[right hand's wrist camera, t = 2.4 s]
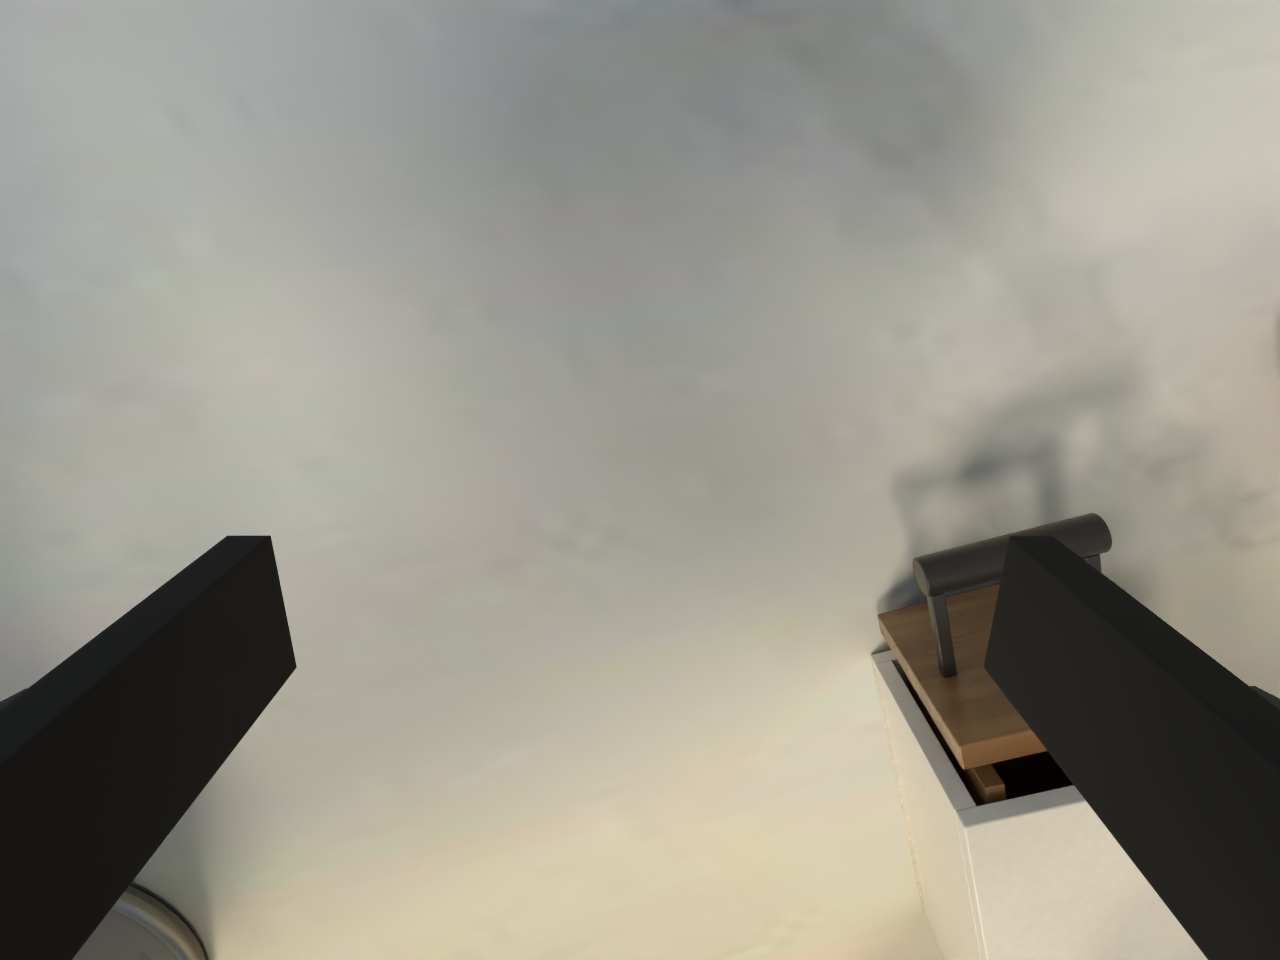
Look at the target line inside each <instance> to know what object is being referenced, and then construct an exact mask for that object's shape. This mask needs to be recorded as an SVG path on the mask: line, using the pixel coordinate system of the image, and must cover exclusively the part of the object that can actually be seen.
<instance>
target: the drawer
mask: <svg viewBox="0 0 1280 960" xmlns="http://www.w3.org/2000/svg"><path fill="white" fill-rule="evenodd" d="M1009 536H1054V537H1055V538H1056V539H1057V540H1059V541H1060V542H1061V543H1063V544H1064V545H1065V546H1067V547H1068V548H1069V549H1071V550H1072V551H1073V552H1074V553H1076V554H1077V555H1078V556H1080V557H1081V558H1082V559H1084V560H1085V561H1086V562H1087V563H1089V564H1090V565H1091V566H1093V567H1094V568H1095V569H1097V570H1098V571H1099V572H1101V563H1100V555H1099V554H1101V553H1105V552H1108V551H1109V550H1110V548H1111V545H1112V539H1111V534H1110V531H1109V529H1108V527H1107V525H1106V523H1105V522H1104V520H1103V519H1102V518H1101V517H1100V516H1099V515H1097V514H1094V513H1090V514H1086V515H1082V516H1078V517H1074V518H1070V519H1066V520H1062V521H1058V522H1054V523H1050V524H1047V525H1043V526H1039V527H1035V528H1031V529H1027V530H1023V531H1019V532H1015V533H1011V534H1007V535H1003V536H999V537H995V538H992V539H988V540H984V541H980V542H976V543H972V544H968V545H964V546H960V547H956V548H952V549H948V550H944V551H941V552H937V553H933V554H929V555H925V556H921V557H917V558H915V559H914V560H913V570H914V574H915V578H916V581H917V583H918V586H919V588H920V589H921V591H922V593H923V594H924V595H925V596H927V602H926V603H922V604H918V605H914V606H910V607H906V608H902V609H897V610H893V611H889V612H885V613H881V614H878V620H879V625H880V630H881V634H882V635H883V637H884V639H885V640H886V642H887V644H888V645H889V647H890V649H891V650H892V652H893V654H894V655H895V657H896V659H897V660H898V662H899V664H900V665H901V667H902V669H903V670H904V672H905V674H906V675H907V681H908V686H909V691H910V693H911V695H912V696H913V698H914V700H915V701H916V703H917V705H918V707H919V708H920V710H921V712H922V713H923V715H924V717H925V719H926V720H927V722H928V724H929V725H930V727H931V729H932V730H933V732H934V734H935V736H936V737H937V739H938V741H939V742H940V744H941V746H942V748H943V749H944V751H945V753H946V754H947V756H948V758H949V760H950V761H951V763H952V765H953V766H954V768H955V770H956V772H957V773H958V775H959V777H960V778H961V780H962V782H963V783H964V785H965V787H966V789H967V790H968V792H969V794H970V795H971V797H972V799H973V801H974V802H975V804H976V807H977V806H981V805H986V804H990V803H995V802H999V801H1004V800H1008V799H1013V798H1017V797H1022V796H1026V795H1031V794H1035V793H1040V792H1044V791H1049V790H1054V789H1058V788H1063V787H1067V786H1072V785H1073V783H1072V782H1071V781H1070V779H1069V778H1068V777H1067V776H1066V774H1065V773H1064V772H1063V770H1062V769H1061V768H1060V766H1059V765H1058V764H1057V762H1056V761H1055V760H1054V759H1053V757H1052V756H1051V755H1050V753H1049V752H1048V751H1047V749H1046V748H1045V747H1044V746H1043V744H1042V743H1041V742H1040V740H1039V739H1038V738H1037V736H1036V735H1035V734H1034V732H1033V731H1032V730H1031V729H1030V727H1029V726H1028V725H1027V723H1026V722H1025V721H1024V719H1023V718H1022V717H1021V716H1020V714H1019V713H1018V712H1017V710H1016V709H1015V708H1014V706H1013V705H1012V704H1011V703H1010V701H1009V700H1008V699H1007V697H1006V696H1005V695H1004V693H1003V692H1002V691H1001V689H1000V688H999V687H998V686H997V684H996V683H995V682H994V680H993V679H992V678H991V676H990V675H989V674H988V673H987V671H986V670H985V669H984V662H985V657H986V652H987V647H988V642H989V637H990V631H991V626H992V621H993V616H994V611H995V606H996V601H997V596H998V591H999V586H1000V584H998V585H994V586H990V587H986V588H982V589H978V590H974V591H970V592H966V593H962V594H958V595H954V596H950V597H946V598H945V594H944V593H945V592H949V591H953V590H957V589H961V588H965V587H969V586H973V585H977V584H981V583H985V582H989V581H993V580H997V579H1001V576H1002V571H1003V566H1004V561H1005V556H1006V551H1007V546H1008V541H1009Z"/></svg>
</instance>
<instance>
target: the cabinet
mask: <svg viewBox="0 0 1280 960" xmlns="http://www.w3.org/2000/svg"><path fill="white" fill-rule="evenodd" d="M871 661H872V666H873V670H874V675H875V680H876V685H877V690H878V694H879V699H880V704H881V709H882V714H883V718H884V723H885V728H886V733H887V738H888V742H889V747H890V752H891V757H892V762H893V766H894V771H895V776H896V781H897V786H898V790H899V795H900V800H901V805H902V810H903V814H904V819H905V824H906V829H907V834H908V838H909V843H910V848H911V853H912V858H913V862H914V867H915V872H916V877H917V882H918V886H919V891H920V896H921V901H922V906H923V910H924V913H925V916H926V918H927V921H928V922H929V926H930V928H931V930H932V933H933V935H934V938H935V940H936V942H937V945H938V947H939V950H940V952H941V954H942V957H943V959H944V960H1208V959H1207V958H1206V957H1205V955H1204V954H1203V953H1202V951H1201V950H1200V949H1199V948H1198V946H1197V945H1196V944H1195V942H1194V941H1193V940H1192V938H1191V937H1190V936H1189V935H1188V933H1187V932H1186V931H1185V929H1184V928H1183V927H1182V925H1181V924H1180V923H1179V921H1178V920H1177V919H1176V918H1175V916H1174V915H1173V914H1172V912H1171V911H1170V910H1169V908H1168V907H1167V906H1166V905H1165V903H1164V902H1163V901H1162V899H1161V898H1160V897H1159V895H1158V894H1157V893H1156V891H1155V890H1154V889H1153V888H1152V886H1151V885H1150V884H1149V882H1148V881H1147V880H1146V878H1145V877H1144V876H1143V875H1142V873H1141V872H1140V871H1139V869H1138V868H1137V867H1136V865H1135V864H1134V863H1133V862H1132V860H1131V859H1130V858H1129V856H1128V855H1127V854H1126V852H1125V851H1124V850H1123V848H1122V847H1121V846H1120V845H1119V843H1118V842H1117V841H1116V839H1115V838H1114V837H1113V835H1112V834H1111V833H1110V832H1109V830H1108V829H1107V828H1106V826H1105V825H1104V824H1103V822H1102V821H1101V820H1100V819H1099V817H1098V816H1097V815H1096V813H1095V812H1094V811H1093V809H1092V808H1091V807H1090V805H1089V804H1088V803H1087V802H1086V800H1085V799H1084V798H1083V796H1082V795H1081V794H1080V792H1079V791H1078V790H1077V789H1076V787H1075V786H1074V785H1072V786H1067V787H1063V788H1058V789H1054V790H1049V791H1044V792H1040V793H1035V794H1031V795H1026V796H1022V797H1017V798H1013V799H1008V800H1004V801H999V802H995V803H990V804H986V805H981V806H977V807H976V804H975V802H974V801H973V799H972V797H971V795H970V794H969V792H968V790H967V789H966V787H965V785H964V783H963V782H962V780H961V778H960V777H959V775H958V773H957V772H956V770H955V768H954V766H953V765H952V763H951V761H950V760H949V758H948V756H947V754H946V753H945V751H944V749H943V748H942V746H941V744H940V742H939V741H938V739H937V737H936V736H935V734H934V732H933V730H932V729H931V727H930V725H929V724H928V722H927V720H926V719H925V717H924V715H923V713H922V712H921V710H920V708H919V707H918V705H917V703H916V701H915V700H914V698H913V696H912V695H911V693H910V691H909V686H908V681H907V675H906V674H905V672H904V670H903V669H902V667H901V665H900V664H899V662H898V660H897V659H896V657H895V655H894V654H893V652H892V650H889V651H885V652H881V653H877V654H873V655H871Z"/></svg>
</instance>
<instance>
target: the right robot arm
mask: <svg viewBox="0 0 1280 960" xmlns="http://www.w3.org/2000/svg"><path fill="white" fill-rule="evenodd" d="M295 669H296V662H295V657H294V652H293V647H292V642H291V637H290V631H289V626H288V621H287V616H286V611H285V606H284V601H283V596H282V591H281V586H280V581H279V576H278V571H277V566H276V561H275V556H274V551H273V546H272V541H271V536H226V537H225V538H224V539H223V540H221V541H220V542H219V543H217V544H216V545H215V546H213V547H212V548H211V549H209V550H208V551H207V552H206V553H204V554H203V555H202V556H200V557H199V558H198V559H196V560H195V561H194V562H193V563H191V564H190V565H189V566H187V567H186V568H185V569H183V570H182V571H181V572H179V573H178V574H177V575H176V576H174V577H173V578H172V579H170V580H169V581H168V582H166V583H165V584H164V585H163V586H161V587H160V588H159V589H157V590H156V591H155V592H153V593H152V594H151V595H149V596H148V597H147V598H146V599H144V600H143V601H142V602H140V603H139V604H138V605H136V606H135V607H134V608H132V609H131V610H130V611H129V612H127V613H126V614H125V615H123V616H122V617H121V618H119V619H118V620H117V621H116V622H114V623H113V624H112V625H110V626H109V627H108V628H106V629H105V630H104V631H102V632H101V633H100V634H99V635H97V636H96V637H95V638H93V639H92V640H91V641H89V642H88V643H87V644H86V645H84V646H83V647H82V648H80V649H79V650H78V651H76V652H75V653H74V654H72V655H71V656H70V657H69V658H67V659H66V660H65V661H63V662H62V663H61V664H59V665H58V666H57V667H55V668H54V669H53V670H52V671H50V672H49V673H48V674H46V675H45V676H44V677H42V678H41V679H40V680H39V681H37V682H36V683H35V684H33V685H32V686H31V687H29V688H28V689H24V690H22V691H20V692H19V693H17V694H15V695H13V696H11V697H9V698H7V699H5V700H3V701H1V702H0V960H206V959H205V956H204V953H203V950H202V948H201V946H200V944H199V942H198V941H197V939H196V937H195V936H194V934H193V933H192V932H191V930H190V929H189V928H188V927H187V926H186V924H185V923H184V922H183V921H182V920H181V919H180V918H179V917H178V916H177V915H176V914H175V913H173V912H172V911H171V910H170V909H169V908H167V907H166V906H165V905H163V904H162V903H160V902H159V901H157V900H156V899H154V898H153V897H151V896H149V895H148V894H146V893H144V892H142V891H140V890H138V889H136V888H134V887H132V886H129V885H130V884H131V882H132V881H133V880H134V878H135V877H136V876H137V875H138V873H139V872H140V871H141V869H142V868H143V867H144V865H145V864H146V863H147V862H148V860H149V859H150V858H151V856H152V855H153V854H154V852H155V851H156V850H157V848H158V847H159V846H160V845H161V843H162V842H163V841H164V839H165V838H166V837H167V835H168V834H169V833H170V832H171V830H172V829H173V828H174V826H175V825H176V824H177V822H178V821H179V820H180V819H181V817H182V816H183V815H184V813H185V812H186V811H187V809H188V808H189V807H190V805H191V804H192V803H193V802H194V800H195V799H196V798H197V796H198V795H199V794H200V792H201V791H202V790H203V789H204V787H205V786H206V785H207V783H208V782H209V781H210V779H211V778H212V777H213V776H214V774H215V773H216V772H217V770H218V769H219V768H220V766H221V765H222V764H223V762H224V761H225V760H226V759H227V757H228V756H229V755H230V753H231V752H232V751H233V749H234V748H235V747H236V746H237V744H238V743H239V742H240V740H241V739H242V738H243V736H244V735H245V734H246V732H247V731H248V730H249V729H250V727H251V726H252V725H253V723H254V722H255V721H256V719H257V718H258V717H259V716H260V714H261V713H262V712H263V710H264V709H265V708H266V706H267V705H268V704H269V703H270V701H271V700H272V699H273V697H274V696H275V695H276V693H277V692H278V691H279V689H280V688H281V687H282V686H283V684H284V683H285V682H286V680H287V679H288V678H289V676H290V675H291V674H292V673H293V671H294V670H295ZM984 669H985V670H986V671H987V673H988V674H989V675H990V676H991V678H992V679H993V680H994V682H995V683H996V684H997V686H998V687H999V688H1000V689H1001V691H1002V692H1003V693H1004V695H1005V696H1006V697H1007V699H1008V700H1009V701H1010V703H1011V704H1012V705H1013V706H1014V708H1015V709H1016V710H1017V712H1018V713H1019V714H1020V716H1021V717H1022V718H1023V719H1024V721H1025V722H1026V723H1027V725H1028V726H1029V727H1030V729H1031V730H1032V731H1033V732H1034V734H1035V735H1036V736H1037V738H1038V739H1039V740H1040V742H1041V743H1042V744H1043V746H1044V747H1045V748H1046V749H1047V751H1048V752H1049V753H1050V755H1051V756H1052V757H1053V759H1054V760H1055V761H1056V762H1057V764H1058V765H1059V766H1060V768H1061V769H1062V770H1063V772H1064V773H1065V774H1066V776H1067V777H1068V778H1069V779H1070V781H1071V782H1072V783H1073V785H1074V786H1075V787H1076V789H1077V790H1078V791H1079V792H1080V794H1081V795H1082V796H1083V798H1084V799H1085V800H1086V802H1087V803H1088V804H1089V805H1090V807H1091V808H1092V809H1093V811H1094V812H1095V813H1096V815H1097V816H1098V817H1099V819H1100V820H1101V821H1102V822H1103V824H1104V825H1105V826H1106V828H1107V829H1108V830H1109V832H1110V833H1111V834H1112V835H1113V837H1114V838H1115V839H1116V841H1117V842H1118V843H1119V845H1120V846H1121V847H1122V848H1123V850H1124V851H1125V852H1126V854H1127V855H1128V856H1129V858H1130V859H1131V860H1132V862H1133V863H1134V864H1135V865H1136V867H1137V868H1138V869H1139V871H1140V872H1141V873H1142V875H1143V876H1144V877H1145V878H1146V880H1147V881H1148V882H1149V884H1150V885H1151V886H1152V888H1153V889H1154V890H1155V891H1156V893H1157V894H1158V895H1159V897H1160V898H1161V899H1162V901H1163V902H1164V903H1165V905H1166V906H1167V907H1168V908H1169V910H1170V911H1171V912H1172V914H1173V915H1174V916H1175V918H1176V919H1177V920H1178V921H1179V923H1180V924H1181V925H1182V927H1183V928H1184V929H1185V931H1186V932H1187V933H1188V935H1189V936H1190V937H1191V938H1192V940H1193V941H1194V942H1195V944H1196V945H1197V946H1198V948H1199V949H1200V950H1201V951H1202V953H1203V954H1204V955H1205V957H1206V958H1207V959H1208V960H1280V699H1279V698H1277V697H1275V696H1273V695H1271V694H1269V693H1267V692H1265V691H1263V690H1262V689H1260V688H1258V687H1256V686H1248V685H1247V684H1245V683H1244V682H1243V681H1241V680H1240V679H1239V678H1238V677H1236V676H1235V675H1234V674H1232V673H1231V672H1230V671H1228V670H1227V669H1226V668H1225V667H1223V666H1222V665H1221V664H1219V663H1218V662H1217V661H1215V660H1214V659H1213V658H1211V657H1210V656H1209V655H1208V654H1206V653H1205V652H1204V651H1202V650H1201V649H1200V648H1198V647H1197V646H1196V645H1195V644H1193V643H1192V642H1191V641H1189V640H1188V639H1187V638H1185V637H1184V636H1183V635H1181V634H1180V633H1179V632H1178V631H1176V630H1175V629H1174V628H1172V627H1171V626H1170V625H1168V624H1167V623H1166V622H1164V621H1163V620H1162V619H1161V618H1159V617H1158V616H1157V615H1155V614H1154V613H1153V612H1151V611H1150V610H1149V609H1148V608H1146V607H1145V606H1144V605H1142V604H1141V603H1140V602H1138V601H1137V600H1136V599H1134V598H1133V597H1132V596H1131V595H1129V594H1128V593H1127V592H1125V591H1124V590H1123V589H1121V588H1120V587H1119V586H1117V585H1116V584H1115V583H1114V582H1112V581H1111V580H1110V579H1108V578H1107V577H1106V576H1104V575H1103V574H1102V573H1101V572H1099V571H1098V570H1097V569H1095V568H1094V567H1093V566H1091V565H1090V564H1089V563H1087V562H1086V561H1085V560H1084V559H1082V558H1081V557H1080V556H1078V555H1077V554H1076V553H1074V552H1073V551H1072V550H1071V549H1069V548H1068V547H1067V546H1065V545H1064V544H1063V543H1061V542H1060V541H1059V540H1057V539H1056V538H1055V537H1054V536H1009V541H1008V546H1007V551H1006V556H1005V561H1004V566H1003V571H1002V576H1001V581H1000V586H999V591H998V596H997V601H996V606H995V611H994V616H993V621H992V626H991V631H990V637H989V642H988V647H987V652H986V657H985V662H984Z"/></svg>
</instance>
